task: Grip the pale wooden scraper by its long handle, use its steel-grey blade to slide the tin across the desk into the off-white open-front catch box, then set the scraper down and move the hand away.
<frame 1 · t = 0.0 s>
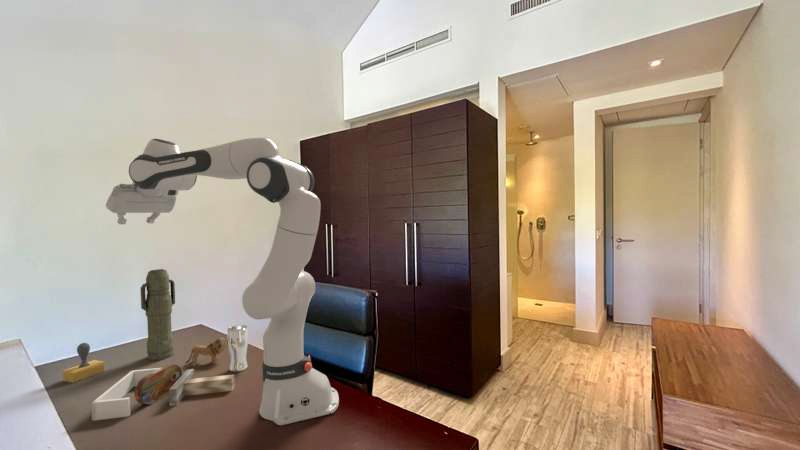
hand: (135, 223, 118), 54 cm above the table, tool tilted 30°, fingers open, 8 cm apart
scraper: (199, 392, 114), on the table
lion figurine: (208, 362, 137), on the table
rubber stamp: (84, 376, 127), on the table
catch box: (130, 399, 110), on the table
tin: (159, 397, 111), on the table
thermos: (160, 356, 144), on the table
beer glass: (238, 368, 131), on the table
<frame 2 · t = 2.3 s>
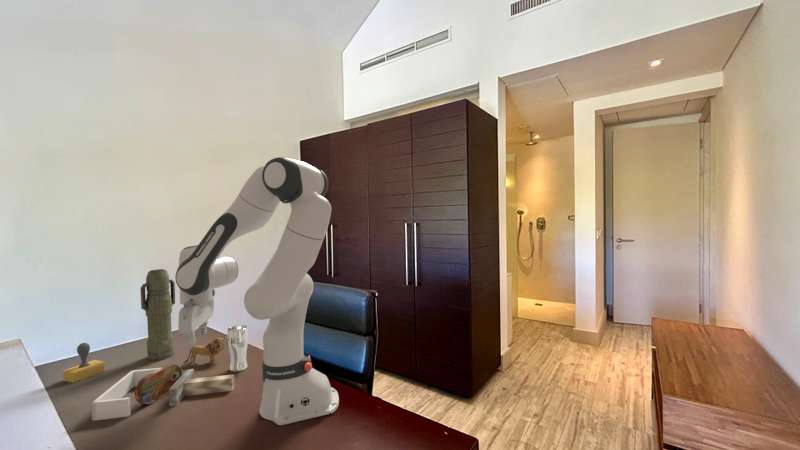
hand: (197, 339, 113), 17 cm above the table, tool pointing down, fingers open, 8 cm apart
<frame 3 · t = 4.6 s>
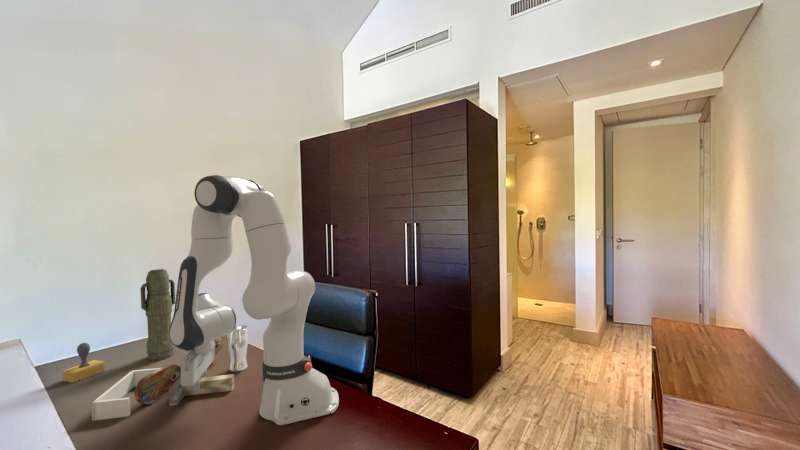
hand: (199, 386, 113), 2 cm above the table, tool pointing down, fingers closed on scraper, 3 cm apart
scraper: (199, 391, 114), on the table, touching gripper
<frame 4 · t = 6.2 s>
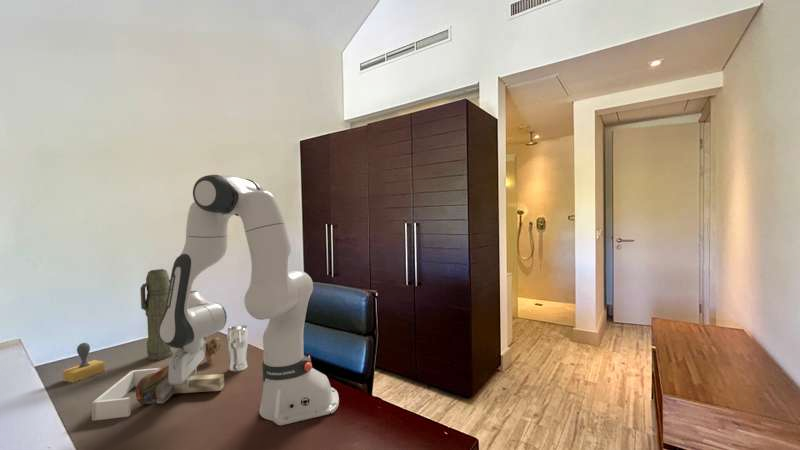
hand: (188, 385, 113), 2 cm above the table, tool pointing down, fingers closed on scraper, 3 cm apart
scraper: (189, 390, 113), point 1 cm above the table, touching gripper, tin
tin: (159, 397, 111), on the table, touching scraper
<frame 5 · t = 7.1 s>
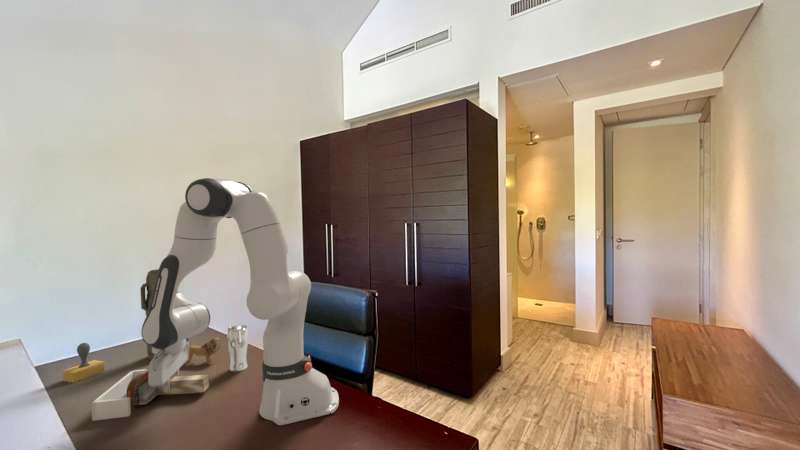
hand: (170, 387, 112), 2 cm above the table, tool pointing down, fingers closed on scraper, 3 cm apart
scraper: (174, 391, 112), point 1 cm above the table, touching gripper, tin
tin: (147, 398, 111), on the table, touching scraper
when the fingers open (2 cm above the table, at t = 9.6 s): scraper drops 1 cm, on the table.
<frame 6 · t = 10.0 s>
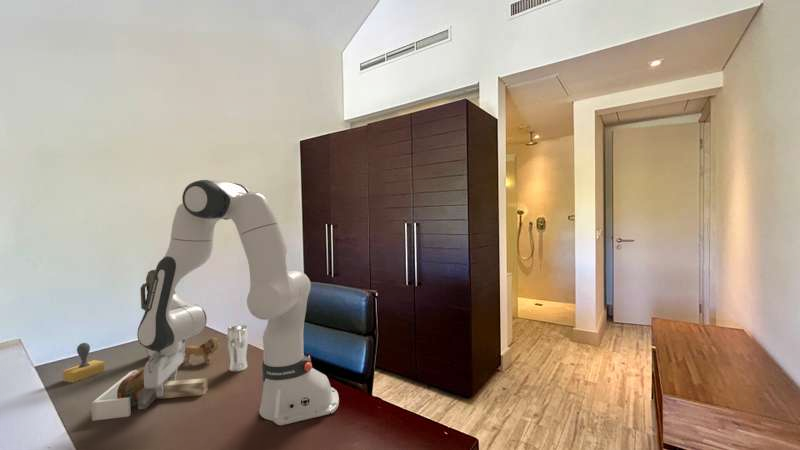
hand: (166, 389, 112), 2 cm above the table, tool pointing down, fingers open, 7 cm apart
scraper: (171, 395, 112), on the table
tin: (137, 399, 110), on the table
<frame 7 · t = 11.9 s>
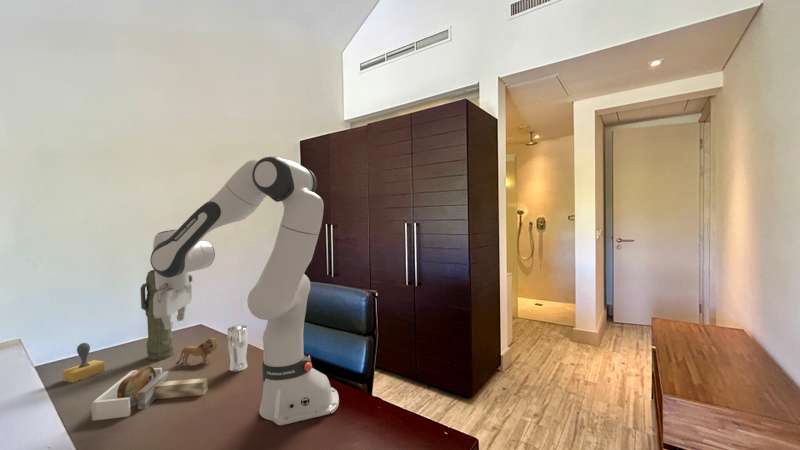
hand: (175, 324, 113), 22 cm above the table, tool pointing down, fingers open, 8 cm apart
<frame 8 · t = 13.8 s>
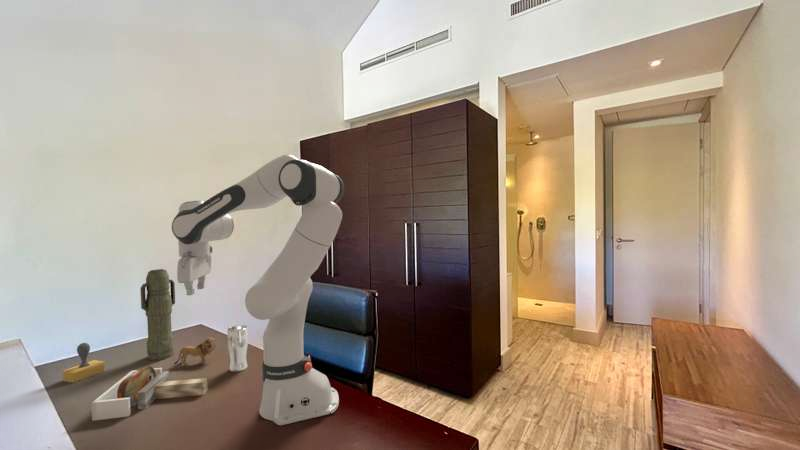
hand: (195, 291, 118), 31 cm above the table, tool pointing down, fingers open, 8 cm apart
at the end: tin inside the target area on the catch box (1.8 cm from its centre), point 0.0 cm above the catch box's base; tin tilted 0°; the gripper is holding nothing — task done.
